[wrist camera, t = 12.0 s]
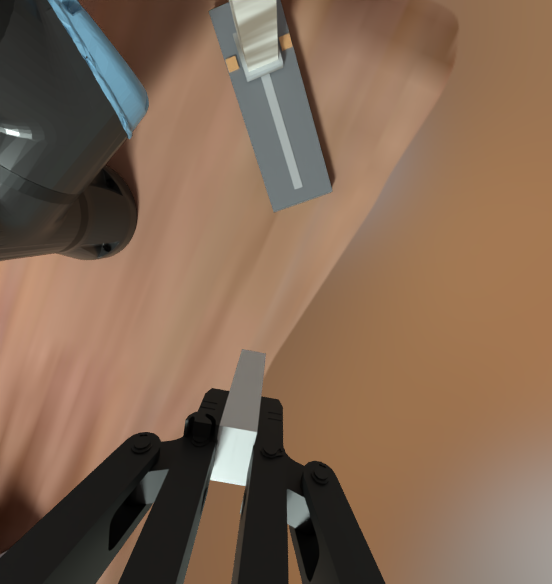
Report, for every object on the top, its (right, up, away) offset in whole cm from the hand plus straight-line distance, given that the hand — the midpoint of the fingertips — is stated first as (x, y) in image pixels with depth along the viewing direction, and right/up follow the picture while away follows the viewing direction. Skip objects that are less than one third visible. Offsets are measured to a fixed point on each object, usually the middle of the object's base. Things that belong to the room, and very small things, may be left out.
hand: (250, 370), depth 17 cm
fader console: (+2, +31, +22) cm, 38 cm away
